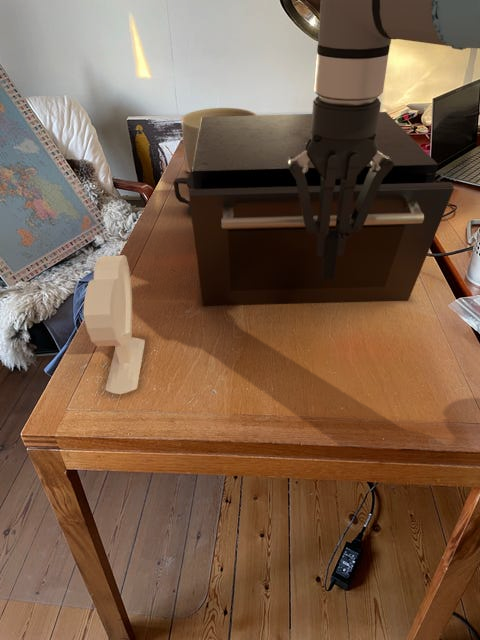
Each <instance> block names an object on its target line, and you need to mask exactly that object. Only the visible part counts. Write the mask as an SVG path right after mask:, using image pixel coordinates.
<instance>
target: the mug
mask: <svg viewBox="0 0 480 640" xmlns="http://www.w3.org/2000/svg"><path fill="white" fill-rule="evenodd" d="M179 184H180V185H181V184H182V185H186V187H187V189H188V191H189V190H190V189H193V179H192V169H191V170H190V172H189V174H188V175H187V176H186V177H177V178H175V179H174V180H173V189H174V195H175V198H176V200H177V201H178V202H179V203H182V204H185V205H188V208H187V214H188V215H189V216H190V217H192V216H191V208H190V200H188V199H186V198H185V197H183V196H182V195H181V193H180V185H179Z"/></svg>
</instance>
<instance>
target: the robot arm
mask: <svg viewBox="0 0 480 640" xmlns="http://www.w3.org/2000/svg"><path fill="white" fill-rule="evenodd" d="M319 6H320V8H319V24H318V36H317V37H318V40H317V48H316V64H315V74H314V75H315V76H314V87H313V92H314V93H315V95H317V96H316V97H315V98H314V99H313V101H312V111H311V112H312V113H311V114H312V126H311V136H310V139H309V141H308V143H307V144H306V149H305V150H306V151H304V152H303V153H301V154H300V155H298V156H297V157H293V156H291V157H289V158H288V160H287V163H288V166H289V170H290V172H291V173H292V175H293V177H294V178H295V180H296V183H297V189H298V194H299V199H300V204H301V209H302V214H303V220H304V224H305V228H306V231H307V232H308V233H310V234H311V233H315V234H316V235H317V236H316V247H315V249H316V252H317V255H318V257H322V258H321V268H320V269H321V273H322V276H323V279H334V273H335V265H336V258H337V256H343V254H344V251H345V244H346V239H347V238H348V237H349V233H351V232H354V231H355V232H359V231H361V230H362V228H363V225H364V223H365V220H366V218H367V216H368V213H369V211H370V209H371V206H372V204H373V202H374V199H375V197H376V194H377V192H378V190H379V187H380V185H381V183H382V180H383V179H384V177H385V176H386V175H387V174H388V173H389V172H390V170H391V169H392V168H393V166H394V163H393V161H392V160H391V159H390V157H389V156H388V155H387V154H382V153H381V152H379V151H378V145H377V143H376V132H377V125H378V119H379V113H380V112H381V106H382V102H381V101H380V98H378V97H380V96H381V95H382V94H383V93H384V88H385V80H386V74H387V69H388V68H387V66H388V61H389V60H388V59H389V53H390V48H391V44H392V40H402V41H409V42H416V43H423V44H430V45H439V46H446V47H451V48H452V49H454V50H460V51H463V50H466V49H480V0H320V5H319ZM309 161H311V162H312V164H313V165H314V167H315V168H316V170H317V171H318V173H319V174H320V176H321V185H320V196H319V207H318V217H317V221H315V220H314V218H313V212H312V207H311V201H310V196H309V190H308V184H307V180H306V177H305V173H306V172H307V171H308V162H309ZM370 161H371V163H370V167H371V168H370V170H369V172H368V174H367V177H366V179H365V182H364V184H363V187H362V189H361V192H360V194H359V197H358V199H357V202H356V204H355V207H354V209H353V212H352V214H351V207H352V200H353V193H354V188H355V186H356V179H357V176H358V175H359V174H360V172H361V171H362V170H363V169H364V168H365V167H366V165H367V164H368V163H369V162H370ZM337 179H341V183H340V192H339V201H338V209H337V218H336V229H329V224H330V216H331V207H332V198H333V189H334V187H335V180H337ZM350 215H351V217H350Z"/></svg>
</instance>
